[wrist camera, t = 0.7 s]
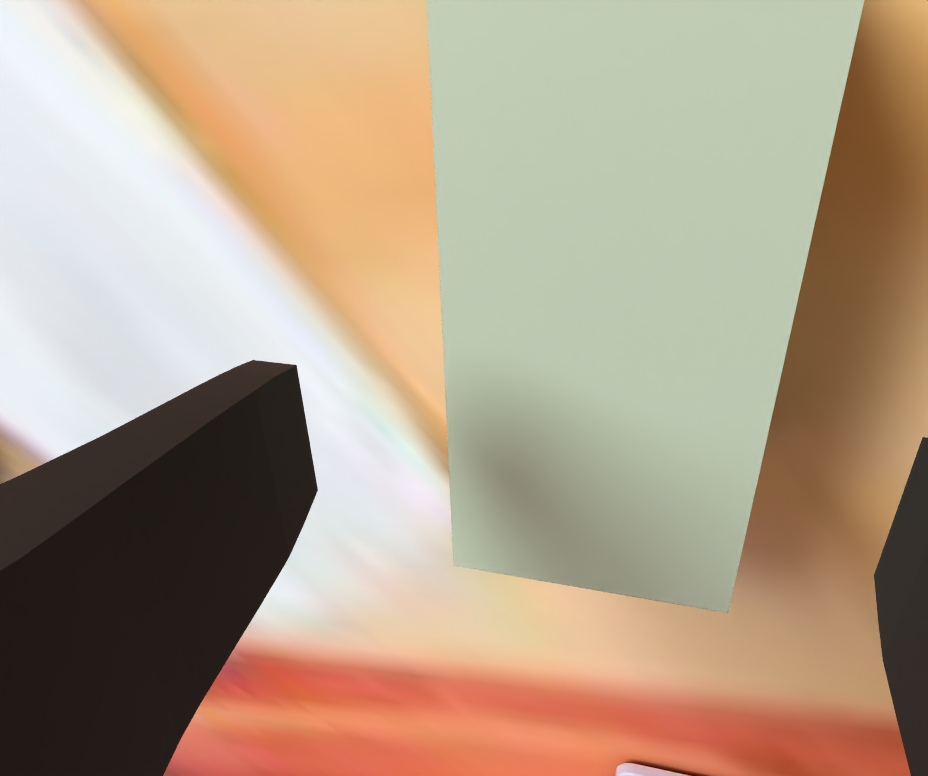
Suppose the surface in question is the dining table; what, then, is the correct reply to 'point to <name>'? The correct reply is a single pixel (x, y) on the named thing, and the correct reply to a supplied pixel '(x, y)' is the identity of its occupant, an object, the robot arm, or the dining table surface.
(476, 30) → the sage green block
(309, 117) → the dining table surface
